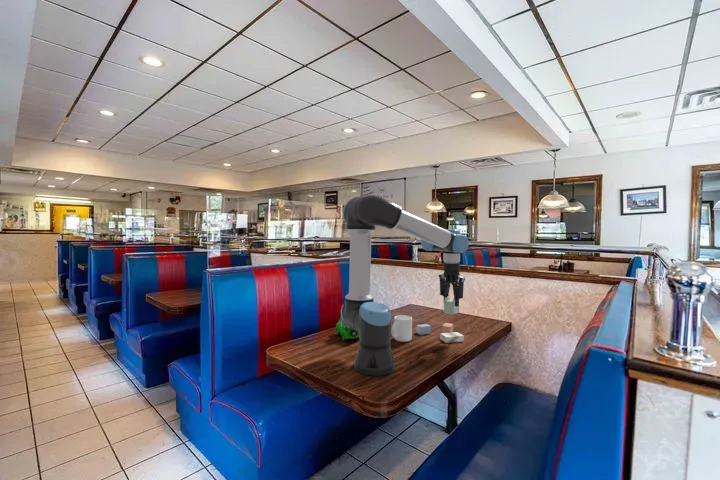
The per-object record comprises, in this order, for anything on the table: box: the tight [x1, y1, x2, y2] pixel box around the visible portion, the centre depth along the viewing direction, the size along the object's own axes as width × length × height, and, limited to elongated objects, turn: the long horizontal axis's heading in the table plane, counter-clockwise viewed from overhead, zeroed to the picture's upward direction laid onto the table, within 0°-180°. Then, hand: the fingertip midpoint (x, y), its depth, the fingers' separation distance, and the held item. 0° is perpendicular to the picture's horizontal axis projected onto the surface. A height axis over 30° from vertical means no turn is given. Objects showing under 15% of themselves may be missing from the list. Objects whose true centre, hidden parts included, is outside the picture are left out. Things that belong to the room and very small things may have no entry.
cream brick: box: [439, 331, 465, 344], centre depth 162 cm, size 9×6×3 cm, turn 104°
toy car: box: [334, 317, 359, 343], centre depth 163 cm, size 8×17×10 cm, turn 21°
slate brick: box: [415, 323, 432, 336], centre depth 172 cm, size 6×4×4 cm, turn 115°
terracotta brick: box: [441, 322, 454, 333], centre depth 174 cm, size 6×4×4 cm, turn 152°
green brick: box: [443, 298, 460, 315], centre depth 162 cm, size 6×4×6 cm, turn 127°
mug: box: [391, 314, 413, 343], centre depth 161 cm, size 12×8×10 cm
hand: (451, 311), depth 161 cm, fingers closed on green brick, 4 cm apart
